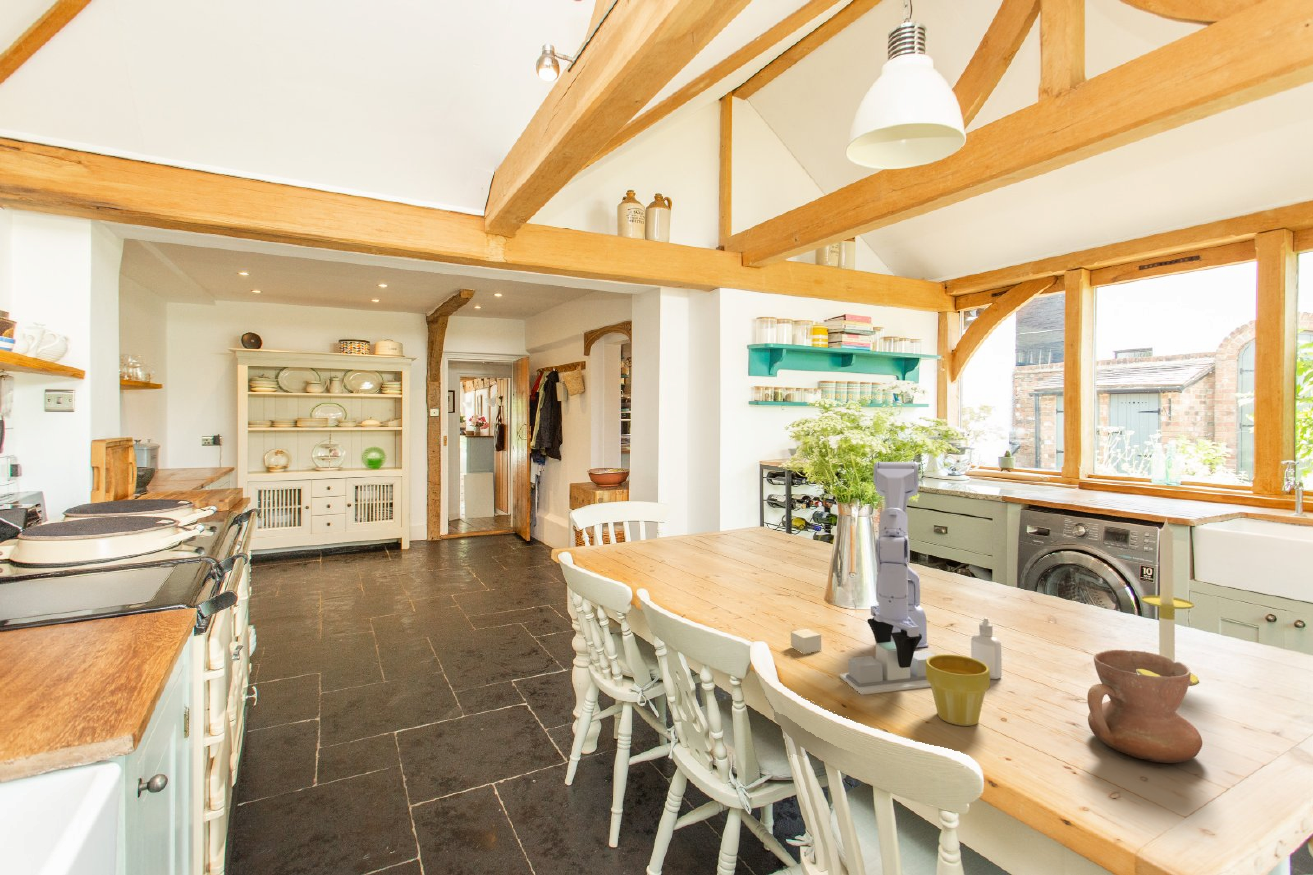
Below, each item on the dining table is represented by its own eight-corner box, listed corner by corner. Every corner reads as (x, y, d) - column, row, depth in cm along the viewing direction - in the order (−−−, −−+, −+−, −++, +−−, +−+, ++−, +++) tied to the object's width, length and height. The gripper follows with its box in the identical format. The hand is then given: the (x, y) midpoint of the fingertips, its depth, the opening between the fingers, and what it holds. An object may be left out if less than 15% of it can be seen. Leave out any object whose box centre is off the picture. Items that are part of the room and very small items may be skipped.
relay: (807, 644, 150) (807, 628, 150) (821, 651, 146) (821, 634, 146) (791, 648, 148) (790, 631, 148) (804, 655, 144) (803, 638, 144)
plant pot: (935, 699, 119) (934, 649, 119) (995, 714, 113) (995, 661, 113) (919, 720, 111) (918, 666, 111) (982, 737, 105) (982, 680, 105)
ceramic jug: (1149, 722, 109) (1146, 642, 108) (1236, 767, 94) (1233, 674, 94) (1055, 733, 106) (1052, 651, 106) (1129, 780, 92) (1125, 685, 92)
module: (897, 669, 131) (897, 640, 131) (910, 678, 127) (909, 648, 126) (876, 671, 130) (875, 642, 130) (887, 680, 126) (887, 650, 125)
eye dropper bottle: (983, 680, 127) (983, 622, 127) (968, 670, 133) (968, 614, 133) (1004, 679, 127) (1004, 622, 127) (988, 669, 133) (988, 613, 133)
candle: (1155, 662, 134) (1154, 513, 134) (1210, 680, 125) (1210, 519, 124) (1125, 670, 131) (1124, 516, 130) (1179, 689, 121) (1178, 523, 121)
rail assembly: (924, 667, 135) (924, 646, 135) (951, 684, 126) (951, 661, 126) (839, 676, 131) (838, 654, 131) (861, 694, 122) (860, 671, 122)
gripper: (857, 587, 134) (858, 649, 135) (895, 606, 120) (896, 675, 120) (887, 584, 136) (888, 646, 136) (928, 603, 121) (929, 672, 122)
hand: (894, 659), depth 128 cm, fingers open, 7 cm apart
